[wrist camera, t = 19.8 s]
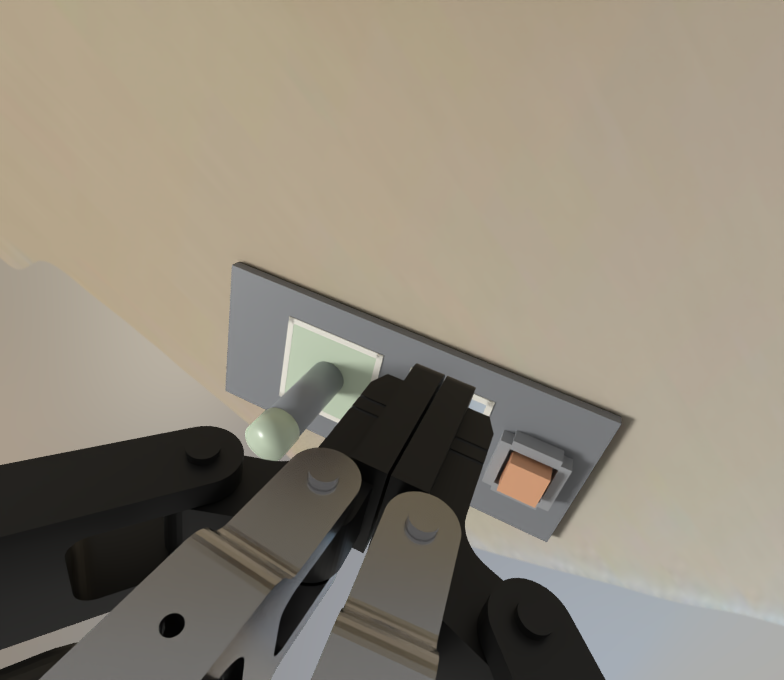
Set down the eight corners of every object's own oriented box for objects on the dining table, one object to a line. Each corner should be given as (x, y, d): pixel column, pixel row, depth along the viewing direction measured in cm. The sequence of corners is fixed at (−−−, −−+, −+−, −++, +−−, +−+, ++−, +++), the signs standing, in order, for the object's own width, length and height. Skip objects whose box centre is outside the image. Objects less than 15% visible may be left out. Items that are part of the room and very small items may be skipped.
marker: (347, 369, 49) (286, 435, 40) (341, 398, 51) (282, 468, 42) (313, 354, 50) (246, 416, 41) (308, 384, 52) (243, 449, 43)
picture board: (621, 417, 42) (621, 435, 40) (548, 534, 50) (545, 555, 48) (238, 261, 50) (221, 270, 47) (231, 386, 58) (216, 398, 56)
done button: (553, 462, 44) (550, 480, 42) (538, 489, 46) (534, 508, 44) (514, 446, 45) (510, 462, 43) (501, 473, 47) (496, 490, 45)
